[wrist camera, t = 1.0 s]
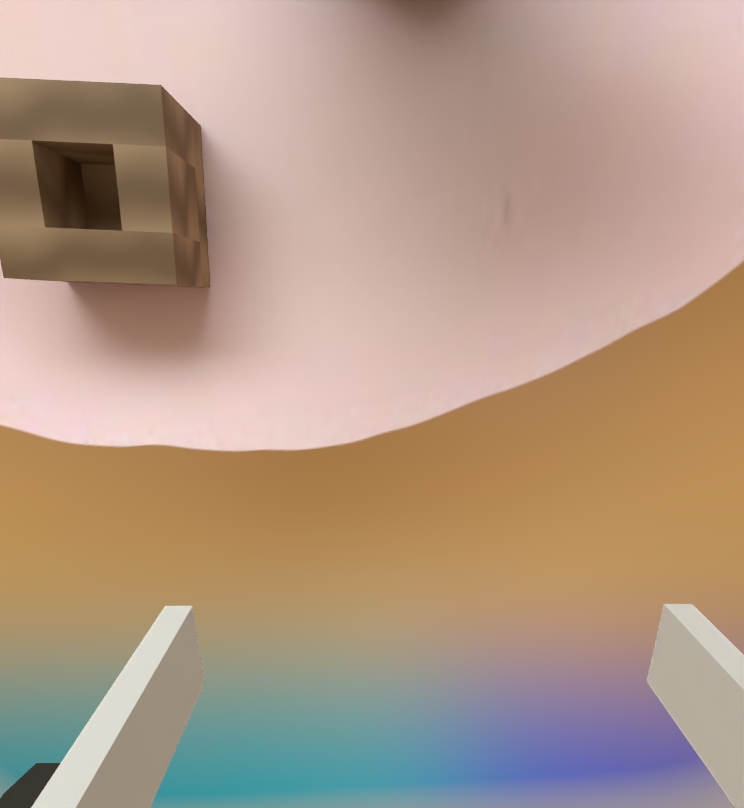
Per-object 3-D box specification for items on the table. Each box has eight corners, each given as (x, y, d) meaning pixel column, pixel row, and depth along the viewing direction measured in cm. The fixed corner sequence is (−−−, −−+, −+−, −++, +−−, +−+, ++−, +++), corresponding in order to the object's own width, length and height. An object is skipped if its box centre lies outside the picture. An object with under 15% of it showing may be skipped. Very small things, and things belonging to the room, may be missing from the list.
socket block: (43, 118, 31) (-34, 76, 25) (200, 125, 31) (160, 85, 25) (67, 281, 34) (3, 277, 28) (210, 287, 34) (176, 284, 28)
